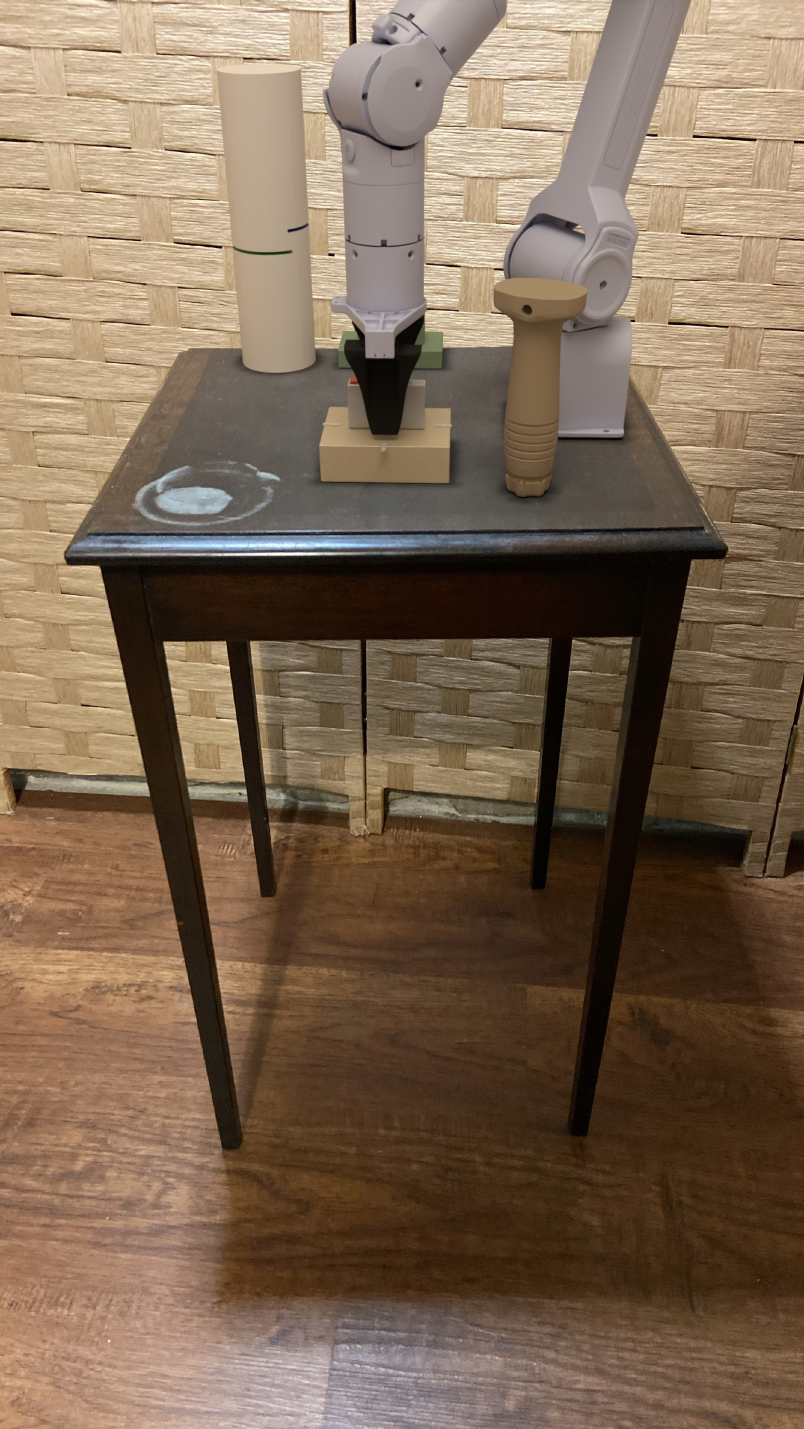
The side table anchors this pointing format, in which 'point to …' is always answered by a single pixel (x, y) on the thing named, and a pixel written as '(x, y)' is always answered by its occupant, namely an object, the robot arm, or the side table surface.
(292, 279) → the cylindrical container
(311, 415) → the side table surface
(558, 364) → the handle
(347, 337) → the button block
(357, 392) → the grey rectangular plate
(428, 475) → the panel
